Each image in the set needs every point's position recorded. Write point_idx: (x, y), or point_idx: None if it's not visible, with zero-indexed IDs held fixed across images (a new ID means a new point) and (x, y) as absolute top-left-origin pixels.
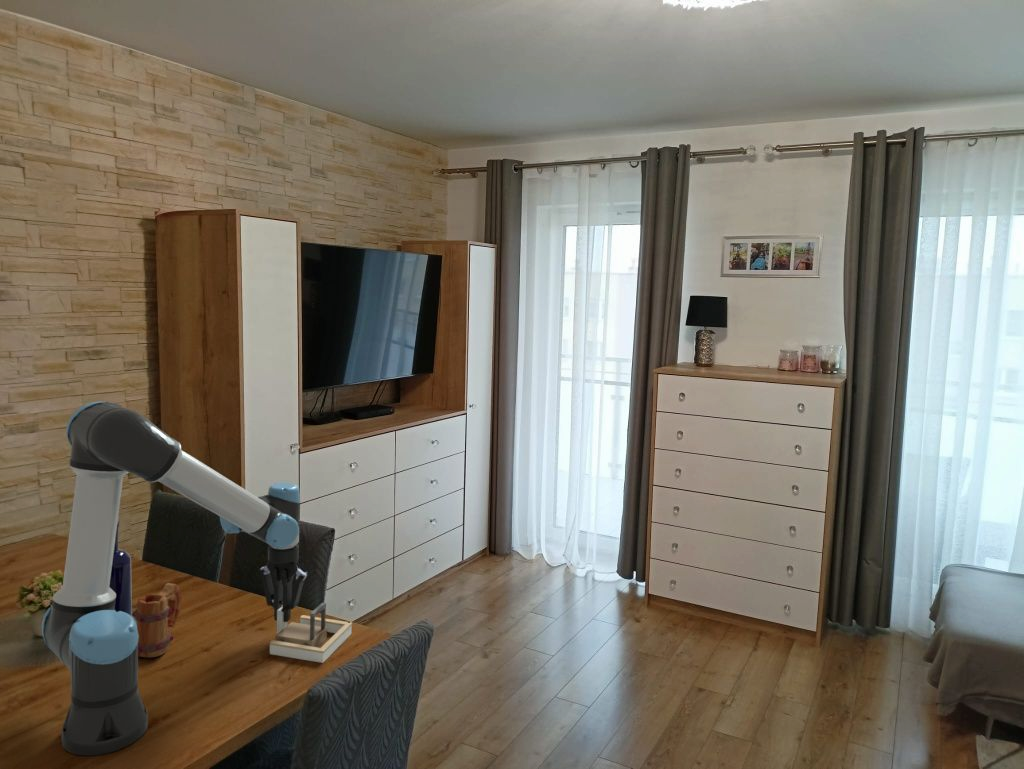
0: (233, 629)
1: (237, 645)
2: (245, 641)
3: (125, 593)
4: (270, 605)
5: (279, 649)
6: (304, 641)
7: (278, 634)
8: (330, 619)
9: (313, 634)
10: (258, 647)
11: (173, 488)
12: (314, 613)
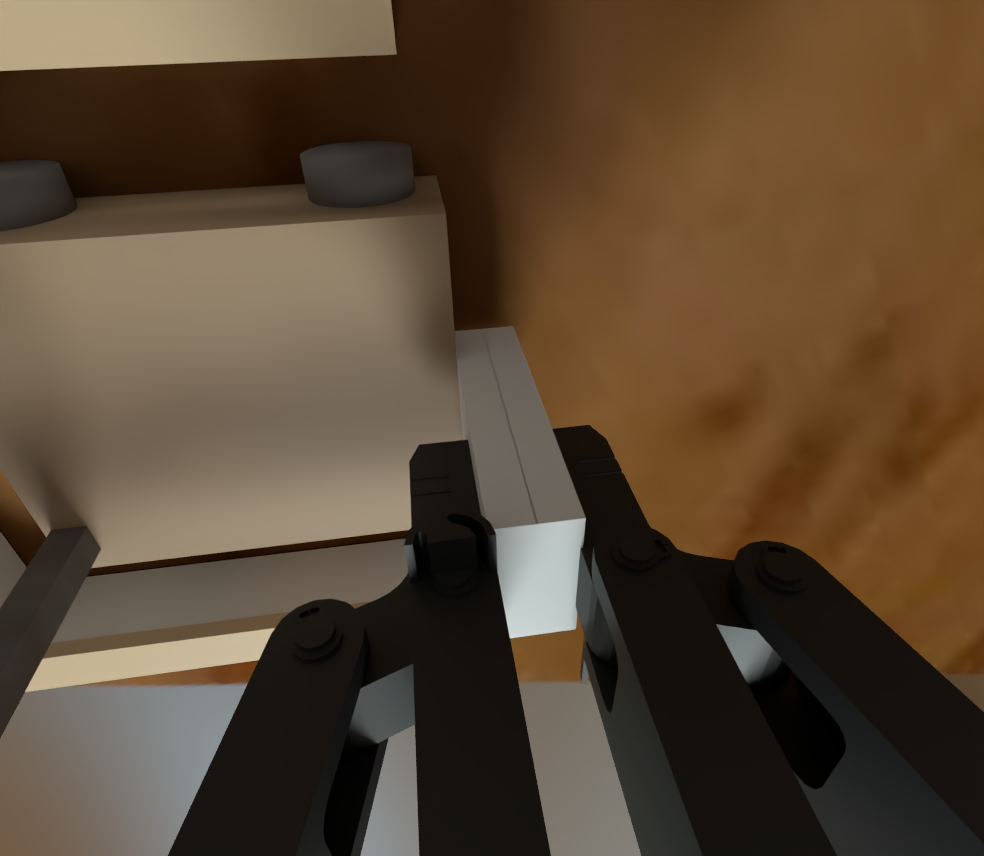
0: (948, 323)
1: (848, 37)
2: (788, 161)
3: None
4: (739, 554)
5: None
6: (3, 238)
7: (429, 249)
8: (184, 668)
9: None
10: (604, 85)
11: None
12: None
